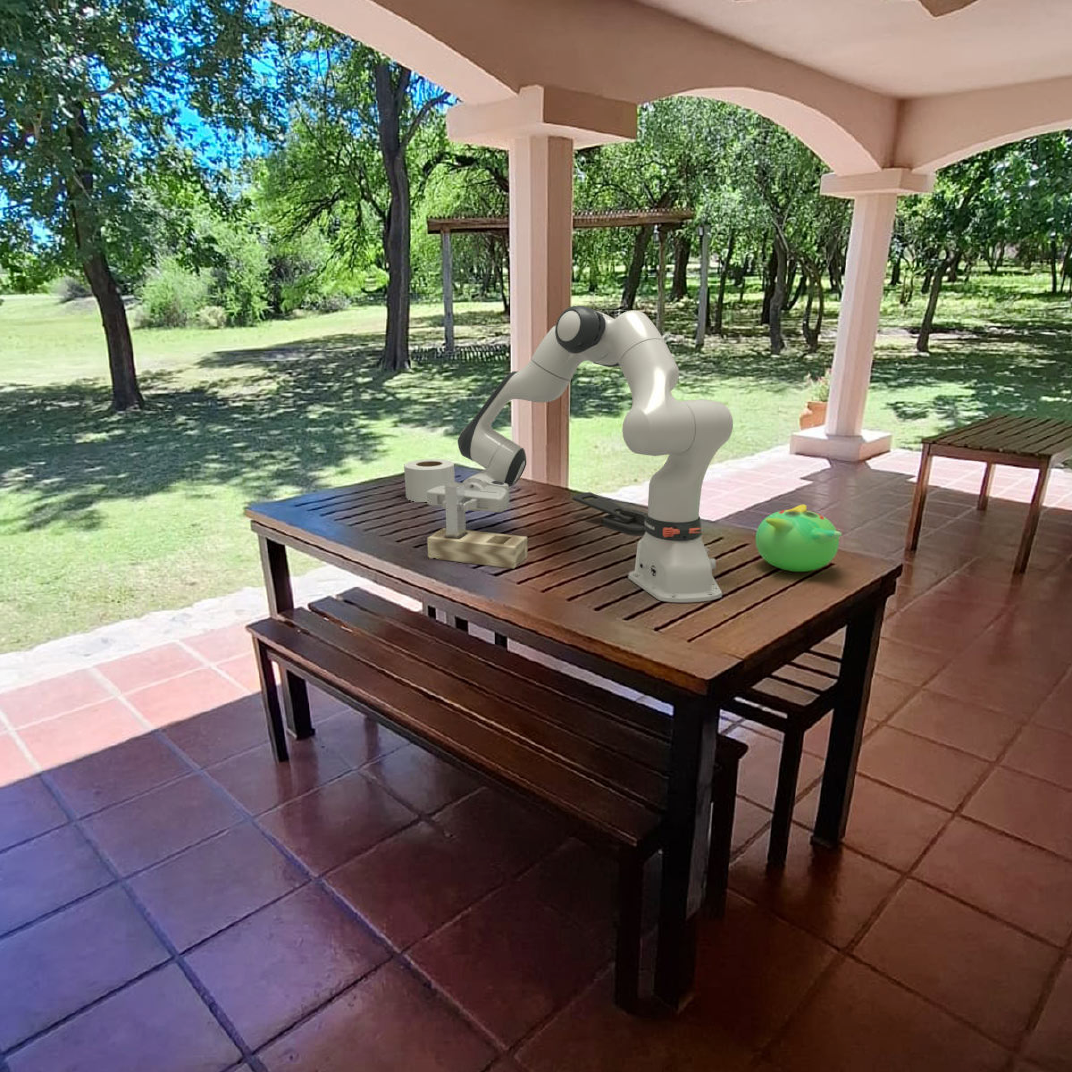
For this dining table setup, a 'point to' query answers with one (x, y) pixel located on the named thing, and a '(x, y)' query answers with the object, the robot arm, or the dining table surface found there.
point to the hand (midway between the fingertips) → (453, 506)
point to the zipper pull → (615, 514)
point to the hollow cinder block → (479, 548)
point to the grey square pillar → (455, 510)
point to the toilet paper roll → (426, 477)
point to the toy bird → (797, 540)
